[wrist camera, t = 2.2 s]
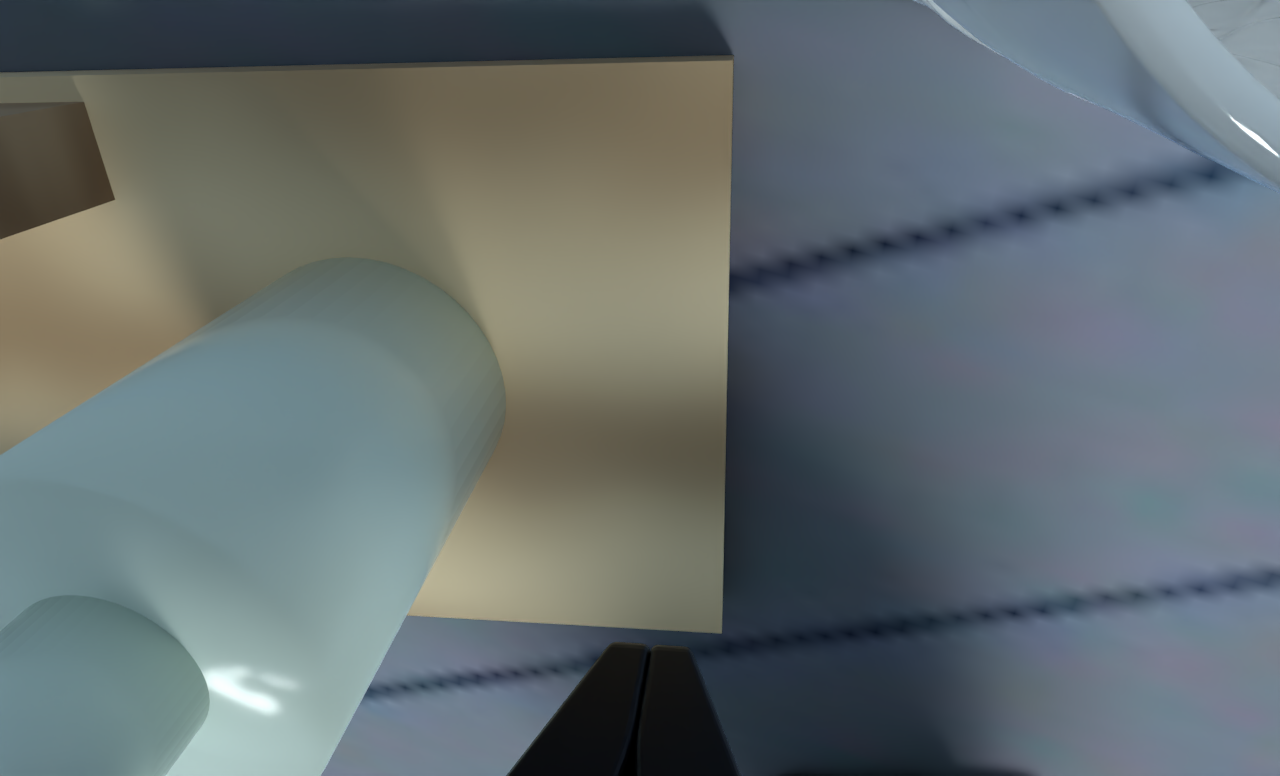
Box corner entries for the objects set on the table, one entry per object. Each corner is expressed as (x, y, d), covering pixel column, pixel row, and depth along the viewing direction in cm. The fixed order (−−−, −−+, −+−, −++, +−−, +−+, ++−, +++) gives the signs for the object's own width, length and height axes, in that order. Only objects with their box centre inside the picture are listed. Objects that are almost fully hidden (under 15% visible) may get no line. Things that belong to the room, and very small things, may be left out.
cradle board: (722, 600, 18) (717, 782, 14) (-202, 551, 20) (-435, 691, 16) (733, 55, 13) (729, 87, 9) (-489, 83, 15) (-925, 119, 11)
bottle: (518, 505, 16) (203, 1240, 7) (277, 495, 16) (-327, 1159, 7) (489, 257, 14) (-53, 842, 4) (211, 256, 14) (-789, 770, 5)
